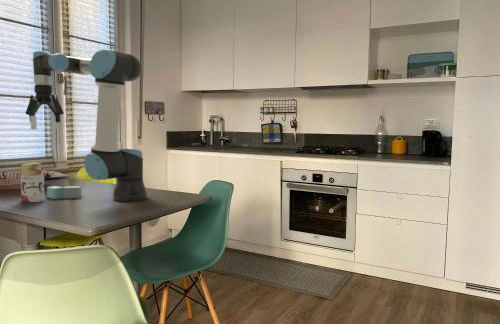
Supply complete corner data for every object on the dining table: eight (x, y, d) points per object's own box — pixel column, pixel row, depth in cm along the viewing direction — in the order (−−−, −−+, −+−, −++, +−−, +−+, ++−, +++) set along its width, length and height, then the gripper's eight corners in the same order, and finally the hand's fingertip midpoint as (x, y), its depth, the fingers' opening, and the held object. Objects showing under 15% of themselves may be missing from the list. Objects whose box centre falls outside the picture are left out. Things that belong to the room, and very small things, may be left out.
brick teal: (47, 197, 188) (47, 187, 187) (56, 196, 191) (55, 186, 191) (55, 199, 184) (54, 188, 183) (63, 197, 187) (63, 187, 186)
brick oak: (34, 173, 182) (34, 162, 181) (41, 174, 180) (41, 163, 180) (21, 175, 175) (20, 164, 175) (28, 176, 174) (28, 164, 173)
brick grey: (81, 196, 191) (81, 186, 190) (79, 198, 187) (78, 187, 186) (66, 196, 190) (65, 186, 189) (63, 198, 186) (62, 187, 185)
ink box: (20, 201, 177) (19, 175, 176) (29, 199, 182) (28, 173, 181) (37, 202, 175) (36, 175, 174) (45, 200, 180) (44, 174, 179)
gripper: (70, 84, 191) (72, 129, 193) (28, 86, 198) (30, 129, 200) (58, 83, 184) (60, 129, 186) (15, 84, 191) (18, 129, 193)
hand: (45, 129), depth 193 cm, fingers open, 13 cm apart
